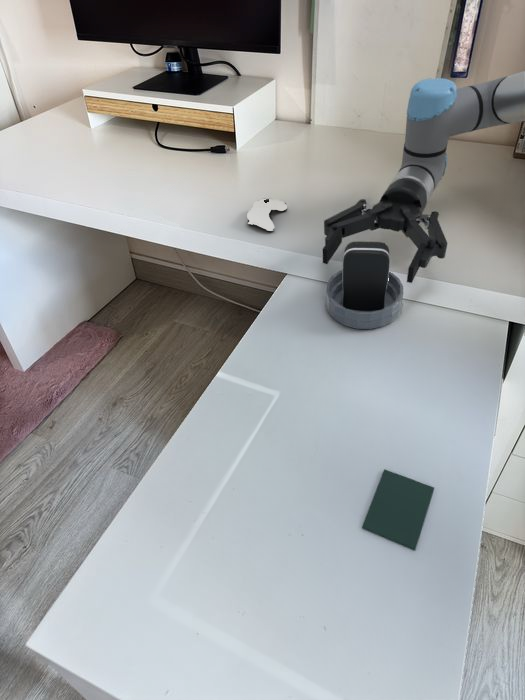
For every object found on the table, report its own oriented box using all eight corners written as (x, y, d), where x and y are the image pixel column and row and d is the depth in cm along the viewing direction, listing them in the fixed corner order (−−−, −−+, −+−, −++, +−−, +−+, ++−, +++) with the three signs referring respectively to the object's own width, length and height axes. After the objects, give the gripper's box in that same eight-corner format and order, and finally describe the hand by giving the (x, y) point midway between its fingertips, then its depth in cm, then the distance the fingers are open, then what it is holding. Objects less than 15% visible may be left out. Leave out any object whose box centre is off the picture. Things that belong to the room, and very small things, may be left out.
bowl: (410, 291, 84) (412, 274, 81) (387, 338, 77) (389, 321, 74) (342, 275, 88) (342, 259, 86) (315, 319, 81) (314, 302, 79)
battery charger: (385, 296, 83) (391, 237, 75) (385, 312, 81) (391, 253, 72) (342, 295, 84) (344, 237, 76) (341, 310, 82) (342, 251, 74)
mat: (433, 489, 59) (434, 487, 59) (415, 550, 55) (415, 549, 54) (384, 470, 62) (384, 469, 61) (361, 528, 57) (362, 526, 57)
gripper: (475, 228, 88) (445, 303, 75) (340, 205, 97) (293, 268, 85) (484, 188, 82) (454, 262, 70) (340, 168, 92) (291, 229, 79)
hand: (366, 265), depth 77 cm, fingers open, 13 cm apart
